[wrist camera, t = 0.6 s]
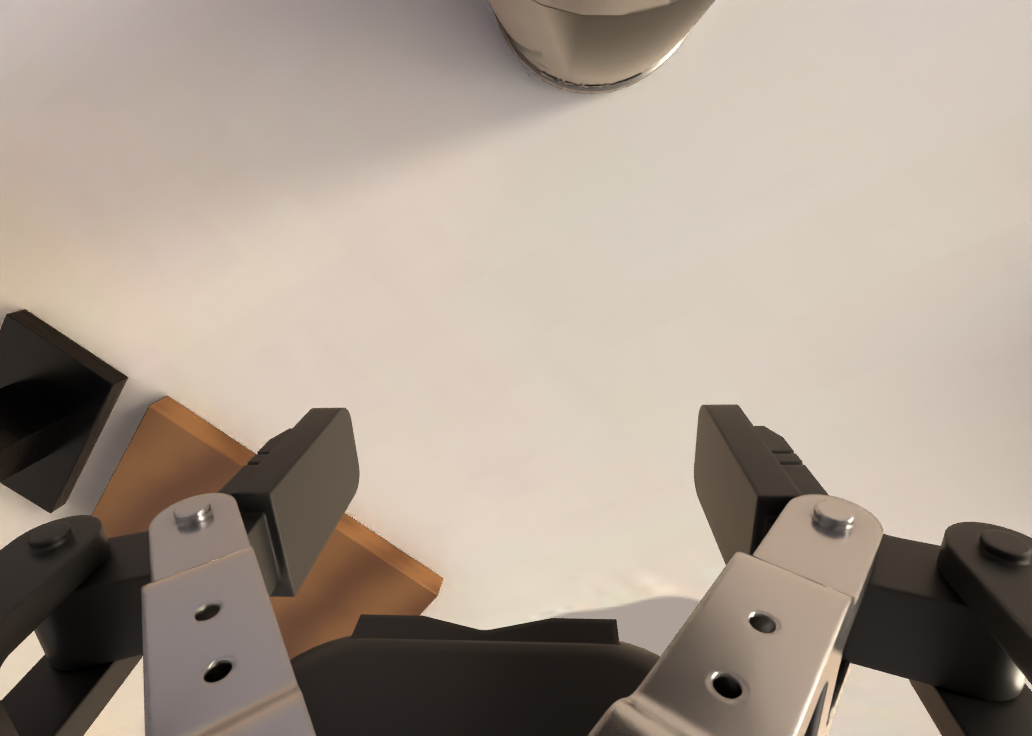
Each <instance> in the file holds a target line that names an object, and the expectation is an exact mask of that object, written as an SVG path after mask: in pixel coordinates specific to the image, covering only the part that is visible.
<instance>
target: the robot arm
mask: <svg viewBox="0 0 1032 736" xmlns="http://www.w3.org/2000/svg"><path fill="white" fill-rule="evenodd" d="M488 1H489V3H490V5H491V7H492V9H493V10H494V13H495V16H496V18H497V21H498V22H497V23H499V24H498V25H499V26H500V28H501V30H502V32H503V34H504V36H505V38H506V40H507V42H508V43H509V45H510V47H511V48H512V50H513V51H514V53H515V54H516V55H517V57H518V58H519V60H521V61H522V63H523V64H524V65H525V66H526V67H527V68H528V69H530V70H531V71H532V72H533V73H534V74H535V75H537V76H538V77H540V78H541V79H542V80H544V81H546V82H548V83H550V84H551V85H554V86H556V87H558V88H561V89H564V90H567V91H571V92H577V93H586V94H596V93H606V92H611V91H615V90H619V89H622V88H625V87H627V86H630V85H632V84H634V83H636V82H638V81H640V80H642V79H643V78H645V77H647V76H648V75H650V74H651V73H652V72H654V71H655V70H656V69H657V68H659V67H660V66H661V65H662V64H663V63H664V62H665V61H666V60H667V59H668V58H669V57H670V56H671V55H672V54H673V53H674V52H675V50H676V49H677V48H678V47H679V46H680V44H681V43H682V42H683V40H684V39H685V38H686V36H687V35H688V33H689V31H690V30H691V28H692V27H693V26H694V25H695V24H696V23H697V21H698V20H699V19H700V18H701V17H702V15H703V14H704V13H705V12H706V11H707V10H708V8H709V7H710V6H711V5H712V4H713V3H714V1H715V0H488ZM485 3H486V2H485ZM488 8H489V7H488ZM491 13H492V12H491ZM494 18H495V17H494ZM495 20H496V19H495ZM521 61H520V62H521ZM523 64H522V65H523ZM523 67H524V66H523ZM525 70H526V69H525ZM526 72H527V71H526ZM528 75H529V74H528ZM529 77H530V76H529ZM247 463H248V464H247V465H244V466H243V467H242V468H241V469H240V470H239V471H238V472H237V473H236V474H235V475H234V476H233V477H232V478H231V479H230V480H229V481H228V482H227V483H226V484H225V485H224V486H223V487H222V488H221V489H220V490H219V491H218V492H217V493H207V494H201V495H197V496H193V497H190V498H187V499H184V500H181V501H179V502H177V503H175V504H173V505H171V506H169V507H167V508H166V509H164V510H163V511H162V512H160V513H159V514H158V515H157V516H156V517H155V518H154V519H153V520H152V521H151V523H150V525H149V531H143V532H138V533H133V534H127V535H122V536H117V537H111V538H107V536H106V534H105V531H104V528H103V526H102V523H101V521H100V520H99V519H98V518H97V517H94V516H89V515H79V516H71V517H66V518H62V519H58V520H54V521H51V522H48V523H46V524H43V525H41V526H38V527H36V528H34V529H32V530H30V531H28V532H26V533H24V534H22V535H21V536H19V537H18V538H16V539H15V540H13V541H12V542H10V543H9V544H8V545H7V546H5V547H4V548H3V549H1V550H0V667H1V665H2V664H3V662H4V661H5V659H6V658H7V657H8V655H9V654H10V653H11V652H12V651H13V650H14V649H15V648H16V647H17V646H18V645H19V644H20V643H21V642H22V641H23V640H25V639H26V638H27V637H28V636H29V635H30V634H31V633H32V632H33V631H35V633H36V636H37V638H38V640H39V642H40V644H41V646H42V648H43V650H44V653H45V655H44V656H43V657H42V658H41V659H40V660H39V661H38V663H37V664H36V665H35V666H34V667H33V668H32V669H31V670H30V671H29V672H28V673H27V674H26V675H25V676H24V677H23V678H22V679H21V680H20V681H19V683H18V684H17V685H16V686H15V687H14V688H13V689H12V690H11V691H10V692H9V693H8V694H7V695H6V696H5V697H4V698H3V699H2V700H0V736H83V735H84V734H85V733H86V731H87V730H88V729H89V727H90V726H91V725H92V723H93V722H94V721H95V719H96V718H97V717H98V715H99V714H100V713H101V711H102V710H103V709H104V707H105V706H106V705H107V703H108V702H109V701H110V699H111V698H112V697H113V695H114V694H115V693H116V691H117V690H118V689H119V687H120V686H121V685H122V683H123V682H124V681H125V679H126V678H127V677H128V675H129V674H130V673H131V671H132V670H133V669H134V667H135V666H136V665H137V663H138V662H139V661H140V659H141V658H142V656H143V673H144V710H145V736H827V734H828V731H829V728H830V726H831V723H832V720H833V717H834V714H835V712H836V709H837V706H838V703H839V700H840V697H841V695H842V692H843V689H844V686H845V683H846V680H847V678H848V675H849V672H850V669H851V666H852V663H853V664H857V665H860V666H864V667H868V668H871V669H875V670H878V671H882V672H886V673H889V674H893V675H896V676H900V677H904V678H907V679H909V680H910V682H911V684H912V686H913V688H914V689H915V691H916V693H917V694H918V696H919V698H920V700H921V701H922V703H923V705H924V706H925V708H926V710H927V711H928V713H929V715H930V716H931V718H932V720H933V721H934V723H935V725H936V726H937V728H938V730H939V731H940V733H941V735H942V736H1032V691H1031V690H1030V689H1029V688H1028V686H1027V685H1026V684H1025V681H1026V678H1027V679H1028V681H1029V682H1030V683H1031V684H1032V538H1030V537H1028V536H1026V535H1024V534H1021V533H1019V532H1016V531H1013V530H1011V529H1007V528H1004V527H1001V526H996V525H992V524H987V523H979V522H962V523H957V524H953V525H951V526H950V527H948V528H947V529H946V531H945V534H944V538H943V541H942V545H941V546H938V545H933V544H928V543H923V542H917V541H912V540H907V539H902V538H897V537H893V536H889V535H886V534H883V528H882V525H881V523H880V522H879V521H878V519H877V518H876V517H875V516H874V515H873V514H871V513H870V512H869V511H867V510H866V509H864V508H862V507H861V506H859V505H857V504H855V503H852V502H850V501H847V500H844V499H841V498H837V497H833V496H829V495H828V494H827V492H826V491H825V490H824V489H823V487H822V486H821V485H820V484H819V482H818V481H817V480H816V479H815V477H814V476H813V475H812V474H811V472H810V471H809V470H808V469H807V467H806V466H805V465H803V464H802V461H801V460H800V458H799V457H798V456H797V455H796V454H794V451H793V450H792V448H791V447H790V446H789V445H788V443H787V442H786V441H785V440H784V438H783V437H781V436H779V435H778V434H776V433H775V432H773V431H771V430H770V429H768V428H766V427H765V426H753V425H752V423H751V422H750V421H749V419H748V418H747V416H746V415H745V414H744V412H743V411H742V410H741V408H740V407H739V406H738V405H702V406H701V408H700V411H699V416H698V428H697V440H696V451H695V463H694V481H695V488H696V492H697V496H698V498H699V501H700V503H701V506H702V508H703V510H704V513H705V515H706V518H707V520H708V523H709V525H710V527H711V530H712V532H713V535H714V537H715V540H716V542H717V545H718V547H719V549H720V552H721V554H722V557H723V559H724V562H725V564H726V567H725V568H724V569H723V571H722V572H721V574H720V575H719V576H718V578H717V579H716V580H715V582H714V583H713V585H712V586H711V587H710V589H709V590H708V592H707V593H706V594H705V596H704V597H703V598H702V600H701V601H700V603H699V604H698V605H697V607H696V608H695V610H694V611H693V612H692V614H691V615H690V616H689V618H688V619H687V621H686V622H685V624H684V625H683V626H682V628H681V629H680V630H679V632H678V633H677V634H676V636H675V637H674V639H673V640H672V642H671V643H670V644H669V646H668V647H667V648H666V650H665V651H664V652H663V654H662V655H661V657H660V656H658V655H656V654H654V653H652V652H650V651H648V650H646V649H643V648H641V647H638V646H635V645H632V644H629V643H625V642H621V641H619V637H618V629H617V622H616V619H615V620H614V619H565V618H550V619H545V620H540V621H534V622H529V623H524V624H518V625H513V626H508V627H503V628H497V629H492V630H478V629H474V628H470V627H466V626H462V625H458V624H454V623H450V622H446V621H442V620H437V619H433V618H429V617H425V616H417V615H368V614H361V615H360V617H359V619H358V622H357V624H356V627H355V629H354V631H353V634H352V635H351V636H346V637H342V638H339V639H335V640H332V641H328V642H326V643H323V644H321V645H318V646H316V647H313V648H311V649H309V650H307V651H305V652H303V653H301V654H299V655H297V656H296V657H294V658H292V659H291V660H290V659H289V656H288V653H287V650H286V647H285V644H284V641H283V638H282V635H281V632H280V629H279V626H278V623H277V620H276V616H275V613H274V610H273V607H272V604H271V601H270V598H269V597H295V596H296V594H297V592H298V591H299V589H300V587H301V585H302V584H303V582H304V580H305V579H306V577H307V575H308V574H309V572H310V570H311V568H312V567H313V565H314V563H315V562H316V560H317V558H318V557H319V555H320V553H321V551H322V550H323V548H324V546H325V545H326V543H327V541H328V540H329V538H330V536H331V534H332V533H333V531H334V529H335V528H336V526H337V524H338V523H339V521H340V519H341V517H342V516H343V514H344V512H345V511H346V509H347V507H348V506H349V504H350V502H351V500H352V499H353V497H354V495H355V493H356V491H357V488H358V484H359V464H358V458H357V452H356V446H355V440H354V434H353V428H352V422H351V417H350V414H349V411H348V410H347V409H346V408H312V409H311V410H310V411H309V412H308V413H307V414H306V415H305V416H304V417H303V418H302V419H301V420H300V421H299V422H298V423H297V424H296V425H295V426H294V428H293V429H288V430H286V431H284V432H283V433H281V434H279V435H277V436H276V437H274V438H272V439H270V440H269V441H268V442H267V443H266V444H265V445H264V446H263V447H262V448H261V449H260V450H259V451H258V455H254V456H253V457H252V458H251V459H250V460H249V461H248V462H247Z"/></svg>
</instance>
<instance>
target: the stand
mask: <svg viewBox="0 0 1032 736" xmlns="http://www.w3.org/2000/svg"><path fill="white" fill-rule="evenodd" d="M127 378H128V377H127V376H125V375H124V374H122V373H121V372H119V371H118V370H116V369H115V368H113V367H112V366H110V365H108V364H107V363H105V362H104V361H102V360H101V359H99V358H98V357H96V356H95V355H93V354H92V353H90V352H89V351H87V350H86V349H84V348H83V347H81V346H80V345H78V344H77V343H75V342H74V341H72V340H71V339H69V338H68V337H66V336H65V335H63V334H62V333H60V332H59V331H57V330H56V329H54V328H52V327H51V326H49V325H48V324H46V323H45V322H43V321H42V320H40V319H39V318H37V317H36V316H34V315H33V314H31V313H30V312H28V311H27V310H25V309H24V310H20V311H16V312H13V313H9V314H6V316H5V319H4V322H3V324H2V327H1V330H0V483H2V484H3V485H5V486H7V487H8V488H10V489H12V490H13V491H15V492H16V493H18V494H20V495H21V496H23V497H25V498H26V499H28V500H29V501H31V502H33V503H34V504H36V505H38V506H39V507H41V508H43V509H44V510H46V511H47V512H49V513H52V512H53V511H55V510H56V509H58V508H59V507H61V506H62V505H64V504H65V503H66V501H67V499H68V497H69V495H70V493H71V491H72V489H73V487H74V485H75V483H76V481H77V479H78V477H79V475H80V473H81V471H82V469H83V467H84V465H85V463H86V461H87V459H88V457H89V455H90V453H91V451H92V449H93V447H94V445H95V443H96V441H97V439H98V437H99V435H100V433H101V431H102V429H103V427H104V425H105V423H106V421H107V419H108V417H109V415H110V413H111V411H112V409H113V407H114V405H115V403H116V401H117V399H118V397H119V395H120V393H121V391H122V389H123V387H124V385H125V383H126V381H127Z"/></svg>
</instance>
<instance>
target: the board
mask: <svg viewBox="0 0 1032 736" xmlns="http://www.w3.org/2000/svg"><path fill="white" fill-rule="evenodd" d="M254 455H256V454H255V453H253V452H252V451H250V450H249V449H247V448H246V447H244V446H243V445H241V444H240V443H238V442H237V441H235V440H234V439H232V438H230V437H229V436H227V435H226V434H224V433H223V432H221V431H220V430H218V429H217V428H215V427H214V426H212V425H211V424H209V423H208V422H206V421H205V420H203V419H202V418H200V417H199V416H197V415H196V414H194V413H193V412H191V411H190V410H188V409H187V408H185V407H184V406H182V405H181V404H179V403H178V402H176V401H175V400H173V399H172V398H170V397H169V396H166V397H164V398H162V399H161V400H159V401H157V402H155V403H154V404H152V405H150V406H149V408H148V409H147V411H146V413H145V415H144V417H143V419H142V421H141V423H140V425H139V426H138V428H137V430H136V432H135V434H134V436H133V438H132V440H131V442H130V444H129V445H128V447H127V449H126V451H125V453H124V455H123V457H122V459H121V461H120V462H119V464H118V466H117V468H116V470H115V472H114V474H113V476H112V478H111V480H110V481H109V483H108V485H107V487H106V489H105V491H104V493H103V495H102V497H101V498H100V500H99V502H98V504H97V506H96V508H95V510H94V512H93V514H92V516H94V517H97V518H98V519H99V520H100V521H101V523H102V526H103V528H104V531H105V534H106V536H107V538H111V537H117V536H122V535H127V534H133V533H138V532H143V531H149V525H150V523H151V521H152V520H153V519H154V518H155V517H156V516H157V515H158V514H159V513H160V512H162V511H163V510H164V509H166V508H167V507H169V506H171V505H173V504H175V503H177V502H179V501H181V500H184V499H187V498H190V497H193V496H197V495H201V494H207V493H217V492H218V491H219V490H220V489H221V488H222V487H223V486H224V485H225V484H226V483H227V482H228V481H229V480H230V479H231V478H232V477H233V476H234V475H235V474H236V473H237V472H238V471H239V470H240V469H241V468H242V467H243V466H244V465H247V464H248V463H247V462H248V461H249V460H250V459H251V458H252V457H253V456H254ZM442 581H443V578H442V577H440V576H439V575H437V574H436V573H434V572H433V571H431V570H430V569H428V568H427V567H425V566H424V565H422V564H421V563H419V562H418V561H416V560H415V559H413V558H412V557H410V556H409V555H407V554H405V553H404V552H402V551H401V550H399V549H398V548H396V547H395V546H393V545H392V544H390V543H389V542H387V541H386V540H384V539H383V538H381V537H380V536H378V535H377V534H375V533H374V532H372V531H371V530H369V529H368V528H366V527H365V526H363V525H362V524H360V523H359V522H357V521H356V520H354V519H353V518H351V517H350V516H348V515H347V514H345V513H344V514H343V516H342V517H341V519H340V521H339V523H338V524H337V526H336V528H335V529H334V531H333V533H332V534H331V536H330V538H329V540H328V541H327V543H326V545H325V546H324V548H323V550H322V551H321V553H320V555H319V557H318V558H317V560H316V562H315V563H314V565H313V567H312V568H311V570H310V572H309V574H308V575H307V577H306V579H305V580H304V582H303V584H302V585H301V587H300V589H299V591H298V592H297V594H296V596H295V597H269V598H270V601H271V604H272V607H273V610H274V613H275V616H276V620H277V623H278V626H279V629H280V632H281V635H282V638H283V641H284V644H285V647H286V650H287V653H288V656H289V659H290V660H291V659H292V658H294V657H296V656H297V655H299V654H301V653H303V652H305V651H307V650H309V649H311V648H313V647H316V646H318V645H321V644H323V643H326V642H328V641H332V640H335V639H339V638H342V637H346V636H351V635H352V634H353V631H354V629H355V627H356V624H357V622H358V619H359V617H360V615H361V614H368V615H417V616H419V615H420V614H421V613H422V612H423V611H424V610H425V609H426V608H427V607H428V606H429V605H430V604H431V602H432V601H433V600H434V599H435V598H436V597H437V596H438V594H439V590H440V587H441V584H442Z"/></svg>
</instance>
